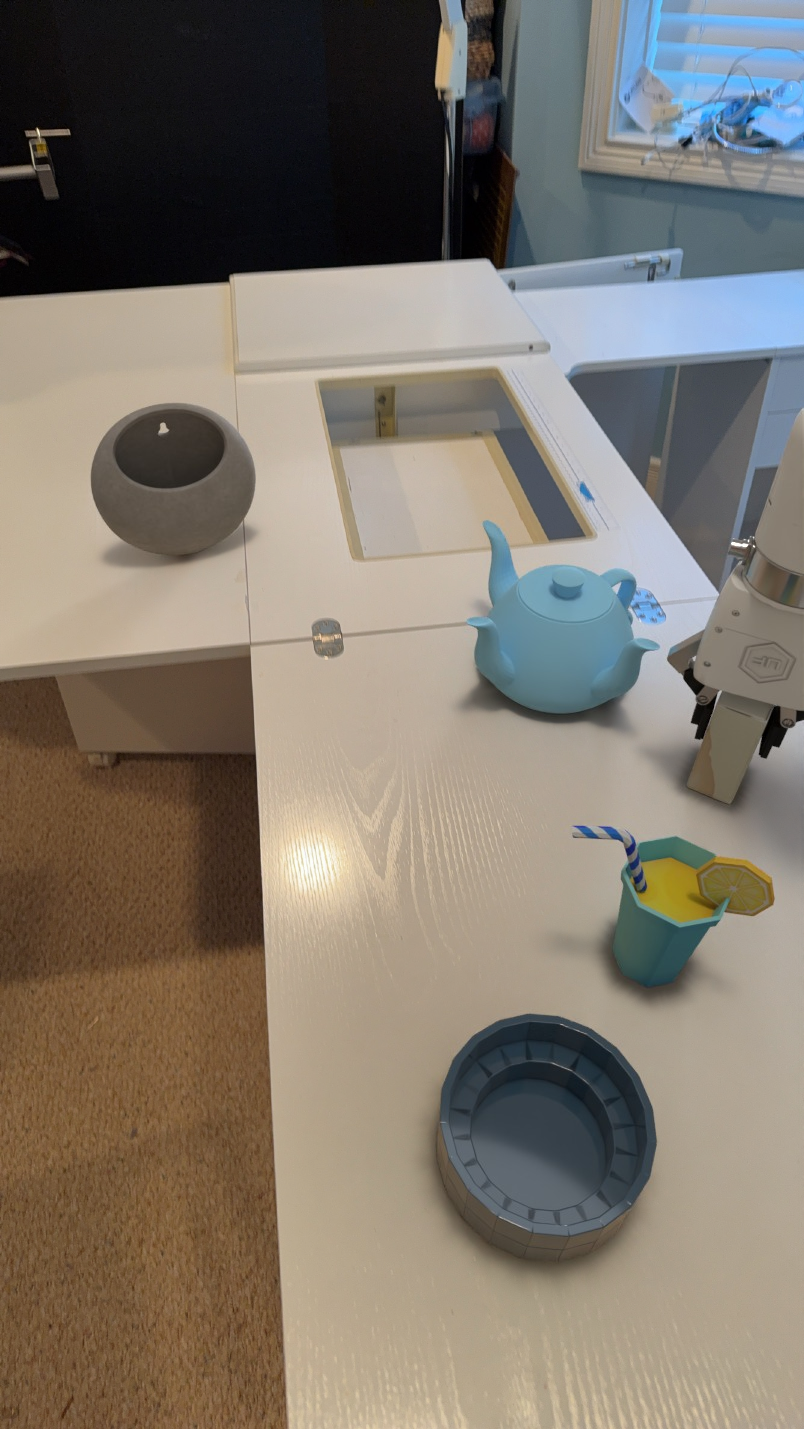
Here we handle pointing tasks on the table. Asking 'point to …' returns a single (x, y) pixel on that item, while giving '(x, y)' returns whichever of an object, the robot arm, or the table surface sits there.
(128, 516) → the planter
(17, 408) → the table surface
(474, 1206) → the round ribbed tray
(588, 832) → the cup
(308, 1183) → the table surface
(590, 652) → the teapot
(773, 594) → the robot arm
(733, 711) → the box
